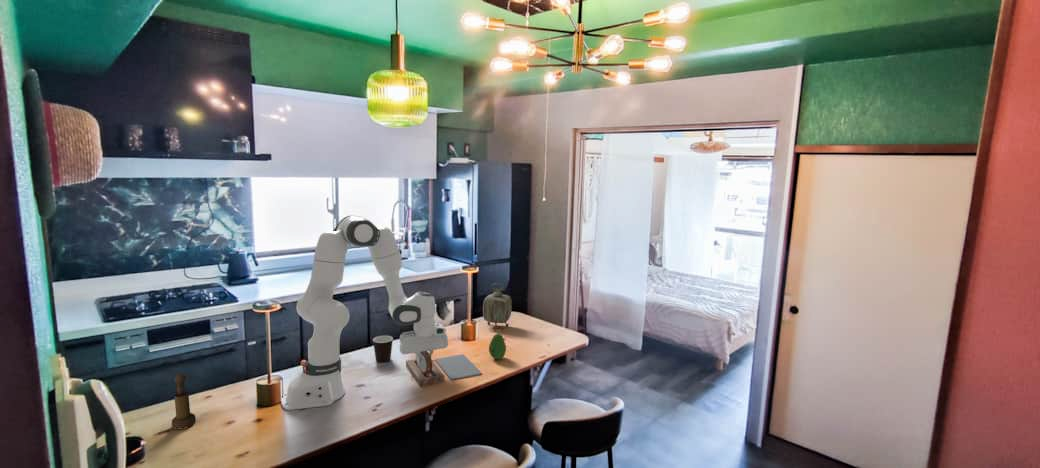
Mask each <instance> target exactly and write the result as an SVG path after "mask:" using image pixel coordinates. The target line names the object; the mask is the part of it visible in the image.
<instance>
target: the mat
mask: <svg viewBox="0 0 1040 468" xmlns="http://www.w3.org/2000/svg"><path fill="white" fill-rule="evenodd" d="M434 363H435V364H437V365H438V367H439V369H441V371H442V372H443V373H444V375H446V376H447V378H448V379H449V380H450V381H456V380H462V379H465V378H471V377H475V376H480V375H483V374H482V371H481V370H479V368H478V367H477V366H476V365H475V364H473V363H472V361H471V360H470V359H469V358H468V357H467V355H465V354H464V353H462V354H457V355H449V356H445V357H439V358H434Z"/></svg>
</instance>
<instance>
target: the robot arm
mask: <svg viewBox="0 0 1040 468" xmlns="http://www.w3.org/2000/svg"><path fill="white" fill-rule="evenodd" d="M318 237H319V238H318V241H317V244H316V246H315V250H314V255H313V262H312V268H311V275H310V280H309V282H308V285H307V288H306V290H305V292H304V294H303V295H301V297H300V298H299V299H298V300H297V302H296V306H295V307H296V312H297V313H298V315H299V316H300V317H301V318H302V319H303V320H304V321H306V322H308V323H310V324H312V325H313V334H312V337H311V338H310V339H309V340H308V341H307V358H308V360H307V359H306V360H305V359H302V360H301V361H300V366H301V367H302V371H301V372H300V373H299V374H297V375H296V376H295V377H294V378H293V379H292V380H290V381H289V384H288V387H287V390H286V391H285V392H284V393H283V394H282V395H283V398H282V400H280V404H281V407H282V408H283V409H285V410H287V411H290V410H291V411H292V410H293V411H294V410H300V409H302V410H303V409H310V408H317V407H325V406H331V405H333V403H334V402H335V401H337V400H339V399H340V398H342V397H343V396H344V395H345V393H346V389H345V387H344V382H343V379H342V373H341V372H342V360H341V359H342V358H341V356H340V340H341V339H340V338H341V333H342V330H343V329H344V328H345V327H346V326H347V325H348V323H349V320H350V317H351V316H350V311H349V309H348V307H346V306H345V305H344V304H343V303H342V302H341V301H338V300H336V299H333V297H334V294H335V291H336V289H337V288H338V286H340V285H341V284H342V282H343V279H344V272H345V271H344V270H345V264H346V258H347V257H346V256H347V252H348V250H349V248H350V247H351V246H356V247H360V248H361V247H367V248H368V250H369V253H370V257H371V261H372V262H373V265H374V267H375V270H376V271H377V272H378V274H379V275H380V276H381V278H382V280H383V281H384V283H385V287H386V291H387V294H388V302H387V311H388V313H389V314H390V317H391V318H392V320H393V322H394V324H396V325H398V326H401V327H405V326H409V325H413V330H409V331H404V332H403V331H402V333H401V334H400V335H399V342H400V343H399V352H400V353H401V354H402V355H409V354H410V355H411V354H414V355H415V356H417V361H418V362H420V361H422V357H421V356H418V354H419V352H423V351H427V352H428V351H429V352H428V353H429V354H430V356H432V355H433V354H434V351H435V350H442V349H446V348H448V346H449V338H448V335H447V333H446V332H447V330H446V327H445V326H444V325H443V324H441V323H437V322H436V320H435V314H436V300H435V297H434V295H433V294H431V292H428V291H422V290H420V291H416V292H415V293H414V294H413V295H412V296H410V297H409V296H407V295H406V293H405V292H404V289H403V286H402V282H401V279H400V271H401V269H402V267H403V262H402V256H401V251H400V248H399V246H398V243H397V240H396V238H395V236H394V234H393V232H392V230H391V229H390V228H389V227H387V226H378V227H377V226H376V225H375V224H374V223H373V222H372V221H371V220H369V219H367V218H365V217H362V216H358V215H347V216H345V217H343V218H342V219H341V220H340V221H339V222H338V224H337V225H336V226H335V228H334V229H333V230H328V231H324V232H323V233H321V234H320V236H318Z"/></svg>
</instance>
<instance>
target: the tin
mask: <svg viewBox="0 0 1040 468" xmlns="http://www.w3.org/2000/svg"><path fill="white" fill-rule="evenodd" d="M415 356H416V355H415ZM418 356H421V357H422V361H420V362H418V361H417V356H416V357H415V359H416V361H417V366H418V367H419V369H420V370H421V372H422V373H423V374H424V375H426V374H427V375H428V374H430V375H431V372H432V361H433V360H432V357H431V356H432V355H431V356H430V354H429V352H428V351H423V352H419V354H418Z"/></svg>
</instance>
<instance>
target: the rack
mask: <svg viewBox="0 0 1040 468" xmlns="http://www.w3.org/2000/svg"><path fill="white" fill-rule="evenodd" d="M405 367H406V368H407V370H408V371H409V372H410V374H411V375H412V377H413V379H414V380H415V381H416V383H417V384H418V386H419V387H423V386H428V385H434V384H438V383H443V382H445V373H444V372H443V371H442V370H440V367H439V366H437V365H436V362H435V361H433V360H432V372H431V373H430V375H431V376H427V377H426V375H425V374H424V373H423V372H422V371H421V369H420V368H419V367H418V365H417V361H416V358H413V359H408V360H405Z"/></svg>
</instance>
